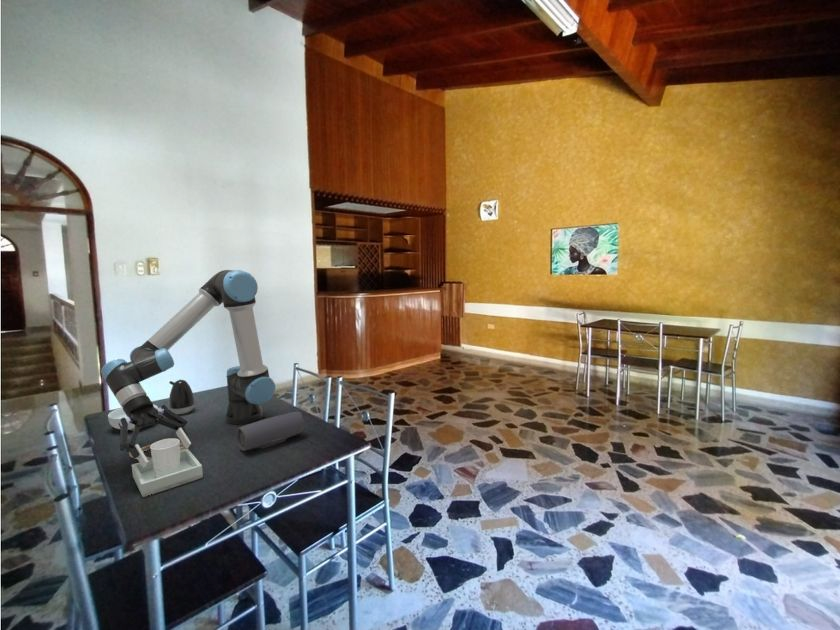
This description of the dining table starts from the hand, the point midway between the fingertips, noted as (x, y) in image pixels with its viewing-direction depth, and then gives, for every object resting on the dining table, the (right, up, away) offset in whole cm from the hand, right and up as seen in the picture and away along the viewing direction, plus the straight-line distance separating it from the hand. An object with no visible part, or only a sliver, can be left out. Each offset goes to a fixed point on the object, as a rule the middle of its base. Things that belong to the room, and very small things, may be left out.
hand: (168, 454), depth 128 cm
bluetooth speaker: (+23, -5, +26) cm, 35 cm away
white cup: (-1, -7, +2) cm, 7 cm away
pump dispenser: (-29, -1, +57) cm, 64 cm away
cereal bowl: (-39, -3, +41) cm, 57 cm away
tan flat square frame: (-14, -5, +18) cm, 24 cm away
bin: (-1, -8, +2) cm, 8 cm away
